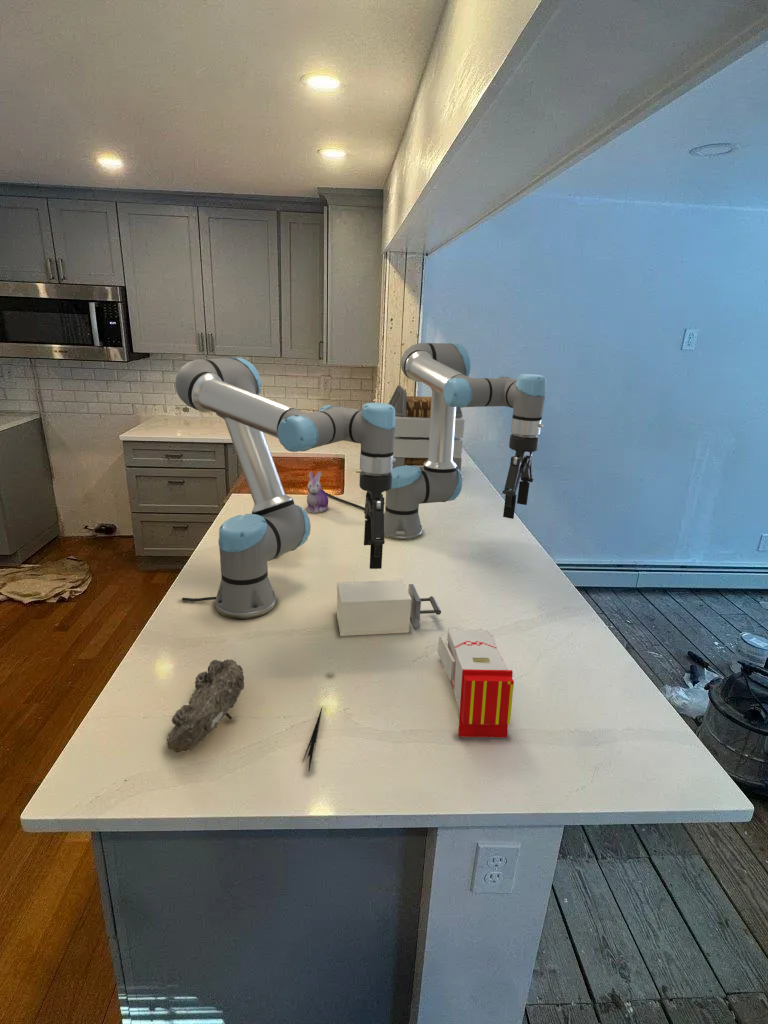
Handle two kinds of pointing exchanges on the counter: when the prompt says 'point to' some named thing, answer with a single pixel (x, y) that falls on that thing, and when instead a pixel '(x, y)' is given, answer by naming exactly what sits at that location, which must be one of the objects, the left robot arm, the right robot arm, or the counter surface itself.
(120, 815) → the counter surface
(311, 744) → the feather
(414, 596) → the drawer
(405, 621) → the cabinet
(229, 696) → the fossil
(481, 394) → the right robot arm
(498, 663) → the toy
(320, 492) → the figurine
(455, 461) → the transformer
